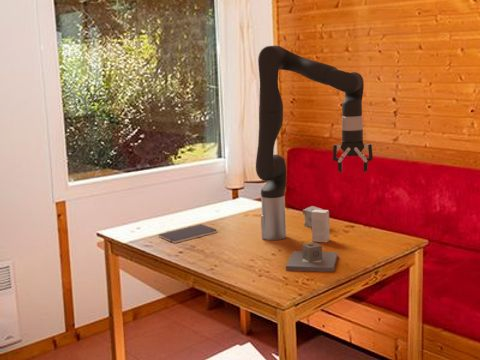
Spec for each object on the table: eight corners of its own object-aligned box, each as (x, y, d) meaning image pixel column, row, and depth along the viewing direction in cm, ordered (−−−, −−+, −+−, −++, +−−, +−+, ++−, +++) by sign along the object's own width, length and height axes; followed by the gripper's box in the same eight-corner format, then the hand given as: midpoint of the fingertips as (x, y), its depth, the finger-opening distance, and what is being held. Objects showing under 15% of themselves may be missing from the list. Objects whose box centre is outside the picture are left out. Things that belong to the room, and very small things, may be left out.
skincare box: (330, 239, 236) (329, 210, 233) (326, 242, 232) (326, 212, 230) (315, 238, 238) (314, 209, 236) (311, 241, 234) (310, 211, 232)
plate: (286, 270, 205) (285, 265, 204) (293, 254, 220) (293, 250, 220) (333, 272, 201) (333, 267, 201) (337, 256, 216) (337, 252, 216)
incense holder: (302, 226, 256) (301, 207, 254) (314, 223, 259) (314, 205, 258) (313, 230, 249) (313, 211, 248) (326, 227, 253) (325, 208, 251)
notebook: (201, 227, 264) (158, 238, 252) (201, 224, 264) (158, 234, 251) (217, 233, 254) (174, 244, 242) (217, 229, 254) (174, 240, 241)
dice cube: (302, 258, 211) (302, 244, 210) (314, 255, 213) (314, 242, 212) (309, 262, 207) (309, 248, 206) (322, 259, 209) (321, 245, 208)
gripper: (331, 130, 216) (332, 174, 220) (372, 129, 213) (372, 174, 216) (333, 127, 224) (334, 170, 227) (372, 126, 220) (373, 170, 223)
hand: (352, 172), depth 221 cm, fingers open, 8 cm apart
